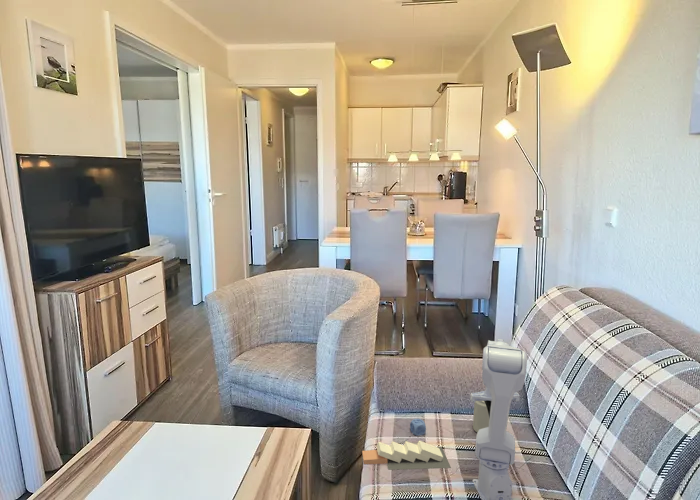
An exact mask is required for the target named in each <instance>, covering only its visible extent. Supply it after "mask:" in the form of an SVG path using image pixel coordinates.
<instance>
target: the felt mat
mask: <svg viewBox="0 0 700 500" xmlns="http://www.w3.org/2000/svg"><path fill="white" fill-rule="evenodd" d="M436 447H437V448H439V449H440V451H441V453H442V455H443V459H442V461H441V462H440V461H437V460H435V459H432V458H430V459H429V461H428V462H426V461H423V460H420V459H417V458H416V459H415V461H414V463H413V462H411V461H408V460H405V459H401V461H400V463H398V462H395V461H393V460H390V459H387V463H386V466H387V469H388V470H389V471H393V470H396V471H397V470H427V469H431V470H432V469H451V468H452V467H451V465H450V462H449V460H448V457H447V455H446V453H445V451H444V449H443V446H436Z"/></svg>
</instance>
